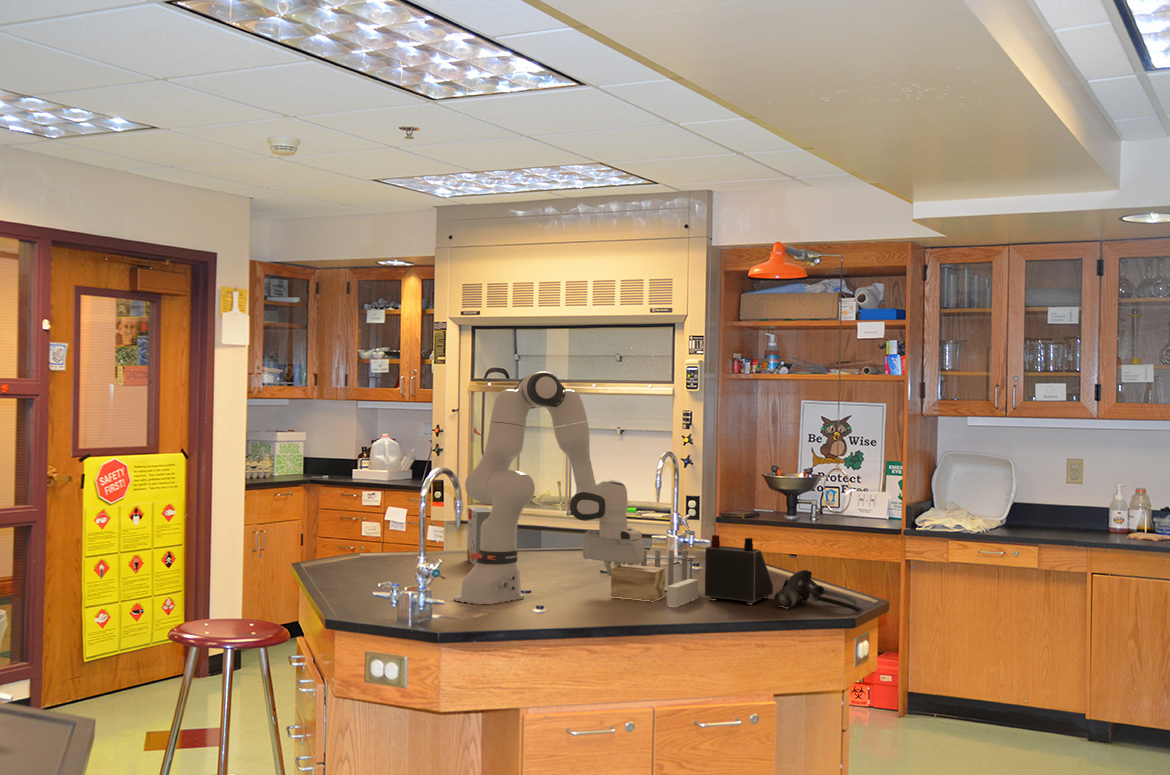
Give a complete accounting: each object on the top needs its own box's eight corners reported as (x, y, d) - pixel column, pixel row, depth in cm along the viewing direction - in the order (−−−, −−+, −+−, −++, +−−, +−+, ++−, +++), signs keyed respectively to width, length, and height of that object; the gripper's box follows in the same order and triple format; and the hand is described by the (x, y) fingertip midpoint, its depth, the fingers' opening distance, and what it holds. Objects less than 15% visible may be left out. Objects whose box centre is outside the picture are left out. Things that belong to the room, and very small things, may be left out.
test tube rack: (693, 589, 335) (694, 548, 335) (696, 592, 331) (697, 550, 331) (617, 589, 332) (618, 548, 332) (619, 592, 327) (620, 550, 328)
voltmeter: (773, 598, 322) (774, 534, 322) (754, 606, 308) (755, 539, 308) (725, 592, 330) (726, 530, 331) (704, 600, 316) (705, 535, 316)
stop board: (676, 607, 303) (676, 587, 304) (666, 606, 305) (667, 586, 305) (697, 599, 317) (698, 579, 317) (688, 598, 319) (689, 578, 319)
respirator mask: (778, 588, 324) (809, 553, 321) (831, 637, 318) (864, 602, 315) (767, 599, 305) (800, 562, 302) (823, 651, 299) (857, 614, 296)
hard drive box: (466, 560, 387) (467, 507, 388) (486, 559, 390) (487, 506, 390) (474, 566, 373) (475, 511, 373) (495, 565, 375) (496, 511, 375)
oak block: (653, 602, 311) (654, 572, 311) (610, 598, 316) (611, 568, 317) (664, 597, 320) (665, 568, 320) (622, 592, 326) (623, 564, 326)
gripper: (579, 530, 326) (578, 573, 326) (637, 535, 316) (636, 580, 316) (589, 528, 332) (588, 571, 331) (646, 533, 322) (645, 577, 321)
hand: (612, 575), depth 324 cm, fingers closed
